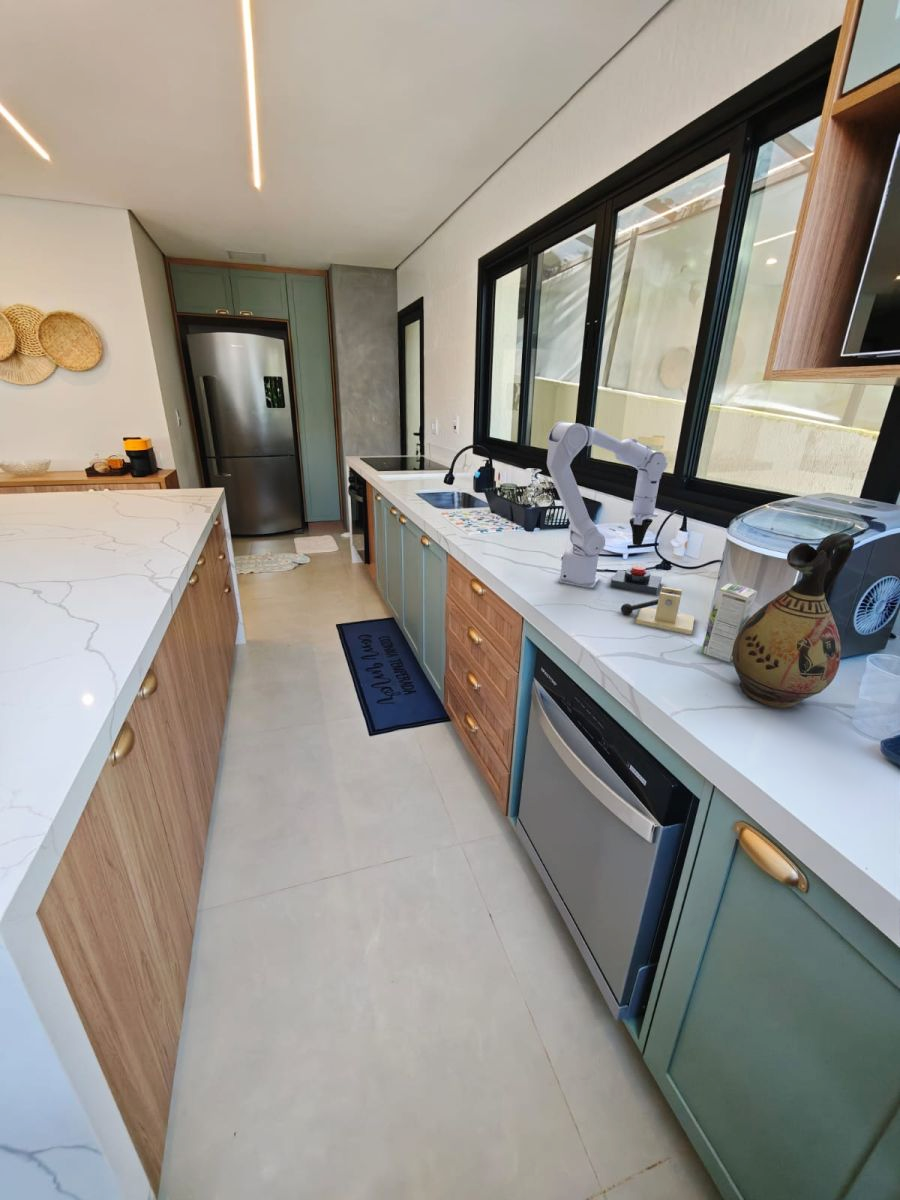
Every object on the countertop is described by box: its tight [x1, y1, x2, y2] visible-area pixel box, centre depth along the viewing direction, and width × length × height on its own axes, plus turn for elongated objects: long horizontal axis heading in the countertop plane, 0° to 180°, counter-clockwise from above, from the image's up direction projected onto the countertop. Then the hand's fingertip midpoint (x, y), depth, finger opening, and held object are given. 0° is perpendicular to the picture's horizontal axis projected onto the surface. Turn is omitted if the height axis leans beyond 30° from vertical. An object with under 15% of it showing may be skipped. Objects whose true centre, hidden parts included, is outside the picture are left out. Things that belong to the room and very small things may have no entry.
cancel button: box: [631, 565, 647, 575], centre depth 139 cm, size 4×4×2 cm
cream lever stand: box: [635, 586, 696, 636], centre depth 117 cm, size 12×9×8 cm
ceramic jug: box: [732, 532, 855, 709], centre depth 85 cm, size 17×15×30 cm
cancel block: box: [610, 568, 663, 596], centre depth 140 cm, size 12×10×4 cm
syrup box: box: [700, 583, 758, 663], centre depth 102 cm, size 6×6×14 cm
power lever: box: [620, 591, 676, 616], centre depth 119 cm, size 13×3×3 cm, turn 62°
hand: (637, 544), depth 142 cm, fingers closed
